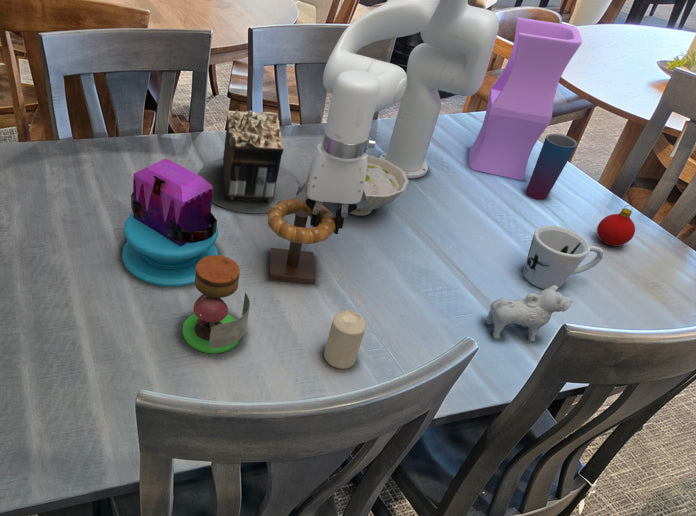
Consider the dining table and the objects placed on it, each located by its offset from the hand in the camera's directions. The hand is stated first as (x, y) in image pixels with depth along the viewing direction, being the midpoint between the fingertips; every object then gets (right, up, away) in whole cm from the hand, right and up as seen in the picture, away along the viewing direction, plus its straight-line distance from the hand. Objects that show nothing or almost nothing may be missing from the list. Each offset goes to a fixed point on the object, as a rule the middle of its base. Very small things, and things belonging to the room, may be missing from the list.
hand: (325, 228), depth 122 cm
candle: (0, -24, -11) cm, 26 cm away
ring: (-5, +1, -1) cm, 5 cm away
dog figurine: (+35, -20, -4) cm, 40 cm away
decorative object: (-30, -5, +8) cm, 32 cm away
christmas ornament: (+68, -2, +21) cm, 71 cm away
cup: (+60, +11, +35) cm, 71 cm away
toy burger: (-22, -20, -9) cm, 31 cm away
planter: (-13, +13, +32) cm, 36 cm away
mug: (+49, -10, +9) cm, 51 cm away
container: (+55, +21, +47) cm, 76 cm away
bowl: (+13, +7, +26) cm, 30 cm away
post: (-5, -8, +7) cm, 12 cm away
